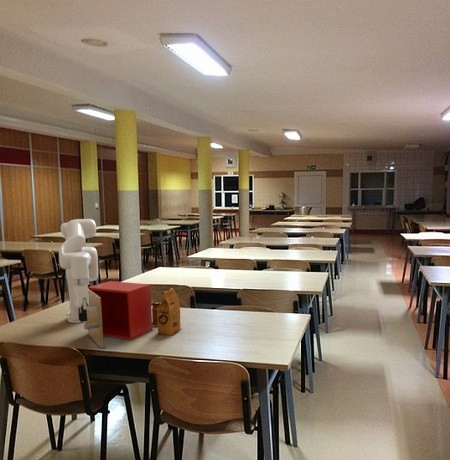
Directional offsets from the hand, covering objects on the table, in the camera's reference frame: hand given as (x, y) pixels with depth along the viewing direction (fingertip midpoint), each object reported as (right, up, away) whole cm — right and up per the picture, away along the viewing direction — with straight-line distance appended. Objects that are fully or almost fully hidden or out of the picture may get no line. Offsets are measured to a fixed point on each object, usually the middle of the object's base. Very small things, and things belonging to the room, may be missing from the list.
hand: (83, 320), depth 225 cm
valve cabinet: (+12, -10, +29) cm, 32 cm away
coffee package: (+37, -10, +27) cm, 47 cm away
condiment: (+28, -8, +41) cm, 51 cm away
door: (-1, -12, +13) cm, 18 cm away
